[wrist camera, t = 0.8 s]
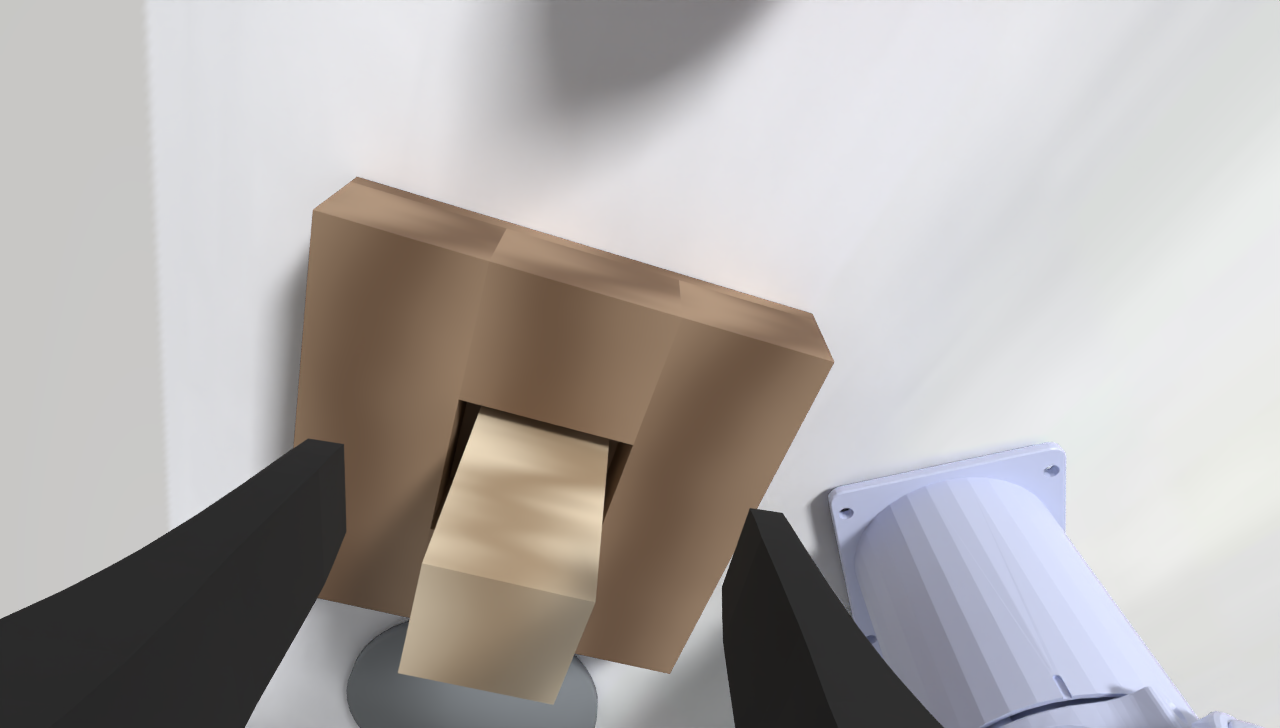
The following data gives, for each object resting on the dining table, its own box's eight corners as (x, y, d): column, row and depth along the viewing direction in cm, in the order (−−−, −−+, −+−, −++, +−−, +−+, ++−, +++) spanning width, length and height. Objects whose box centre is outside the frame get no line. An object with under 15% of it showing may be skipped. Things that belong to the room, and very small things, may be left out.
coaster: (627, 748, 33) (627, 760, 33) (417, 782, 35) (414, 794, 35) (548, 592, 28) (546, 604, 28) (305, 641, 30) (299, 653, 29)
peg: (612, 408, 23) (595, 602, 16) (580, 497, 25) (553, 704, 18) (492, 376, 22) (422, 563, 16) (469, 470, 24) (397, 673, 17)
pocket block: (812, 313, 22) (834, 362, 19) (667, 608, 28) (670, 673, 26) (357, 176, 20) (312, 210, 17) (317, 528, 27) (281, 590, 24)
